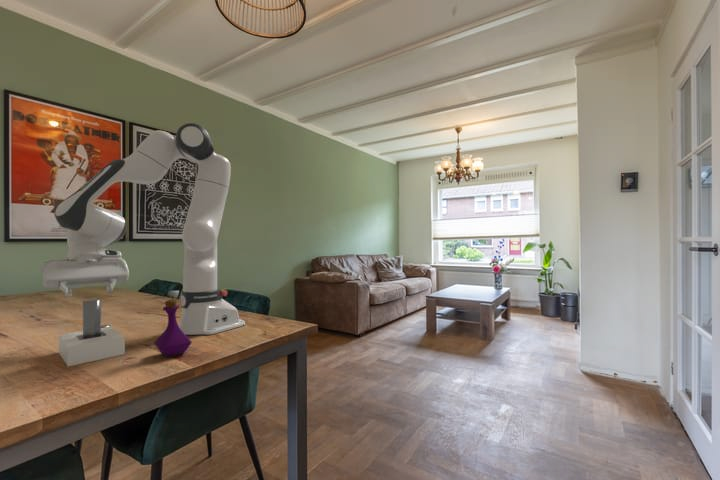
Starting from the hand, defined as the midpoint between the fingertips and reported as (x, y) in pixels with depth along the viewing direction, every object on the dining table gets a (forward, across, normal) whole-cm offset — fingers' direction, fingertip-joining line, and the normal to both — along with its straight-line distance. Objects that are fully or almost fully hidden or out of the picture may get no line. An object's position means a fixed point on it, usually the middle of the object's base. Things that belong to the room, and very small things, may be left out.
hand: (90, 293), depth 97 cm
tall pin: (+15, 0, +8) cm, 17 cm away
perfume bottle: (+27, +16, -4) cm, 32 cm away
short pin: (+6, +4, +17) cm, 19 cm away
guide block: (+15, 0, +8) cm, 17 cm away
